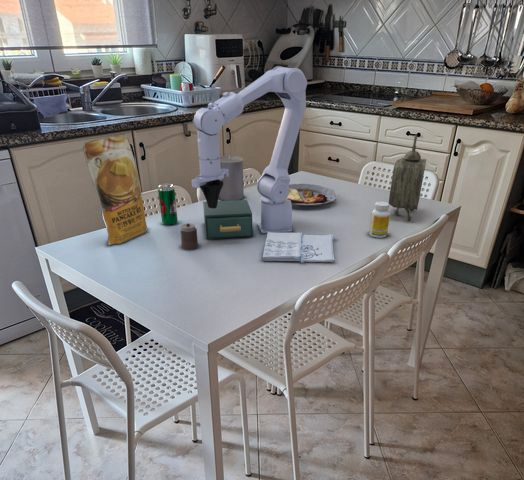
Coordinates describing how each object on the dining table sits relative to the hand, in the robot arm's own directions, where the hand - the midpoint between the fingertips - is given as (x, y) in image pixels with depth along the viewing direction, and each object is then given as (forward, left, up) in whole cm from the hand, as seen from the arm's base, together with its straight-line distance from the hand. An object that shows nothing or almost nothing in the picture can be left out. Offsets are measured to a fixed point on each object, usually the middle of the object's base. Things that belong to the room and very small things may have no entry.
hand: (212, 207), depth 139 cm
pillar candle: (-9, -42, -10) cm, 44 cm away
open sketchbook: (-24, +11, -10) cm, 28 cm away
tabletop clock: (-64, -13, -10) cm, 66 cm away
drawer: (-5, -4, -9) cm, 11 cm away
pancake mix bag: (+26, -7, -10) cm, 29 cm away
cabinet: (-5, -8, -10) cm, 13 cm away
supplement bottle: (-50, +3, -10) cm, 51 cm away
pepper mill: (+7, +4, -10) cm, 13 cm away
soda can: (+13, -17, -10) cm, 24 cm away
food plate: (-35, -35, -10) cm, 50 cm away
